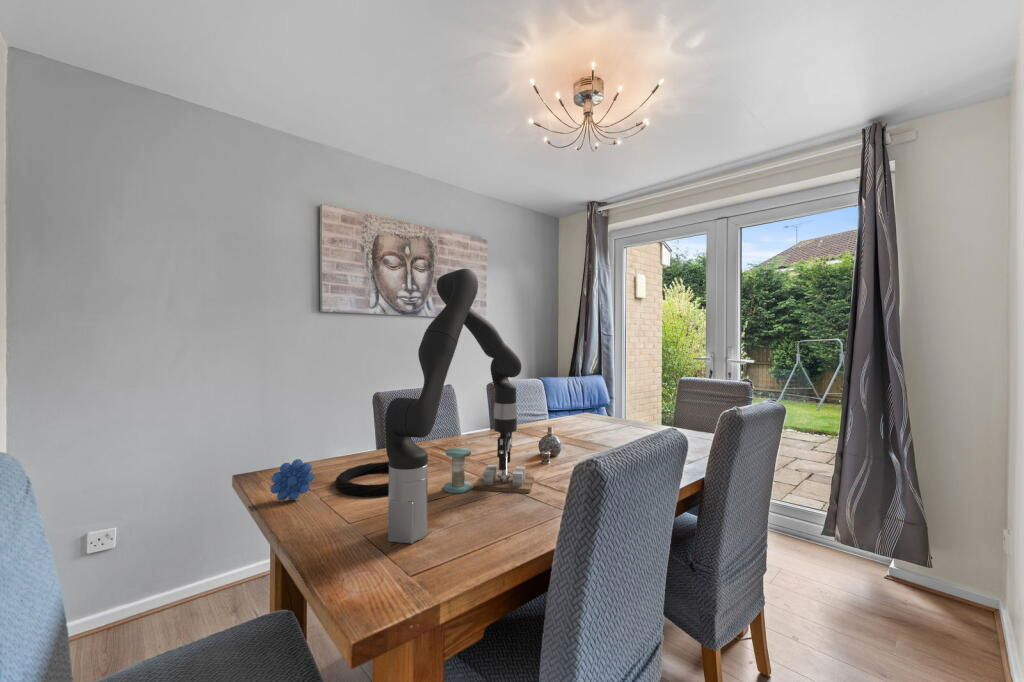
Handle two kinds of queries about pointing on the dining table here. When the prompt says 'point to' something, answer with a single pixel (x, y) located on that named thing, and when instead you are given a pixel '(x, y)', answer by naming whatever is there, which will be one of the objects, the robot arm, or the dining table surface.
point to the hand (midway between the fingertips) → (504, 465)
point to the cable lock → (360, 488)
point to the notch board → (513, 485)
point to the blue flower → (292, 480)
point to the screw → (504, 474)
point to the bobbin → (458, 471)
